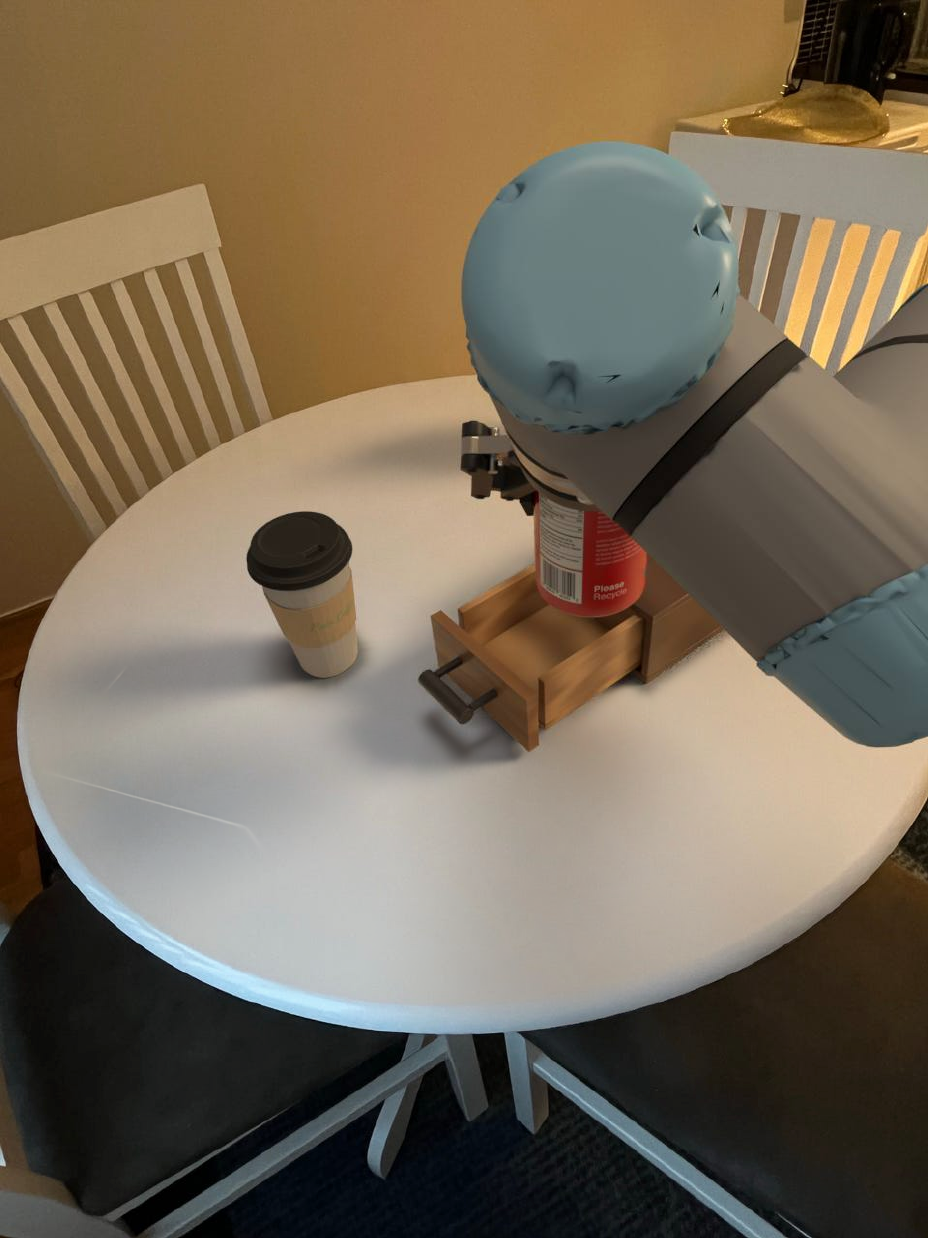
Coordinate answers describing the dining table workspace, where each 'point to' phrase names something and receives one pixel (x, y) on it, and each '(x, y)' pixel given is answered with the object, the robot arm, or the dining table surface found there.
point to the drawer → (528, 657)
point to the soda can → (585, 561)
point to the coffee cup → (308, 588)
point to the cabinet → (669, 623)
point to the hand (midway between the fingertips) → (590, 497)
